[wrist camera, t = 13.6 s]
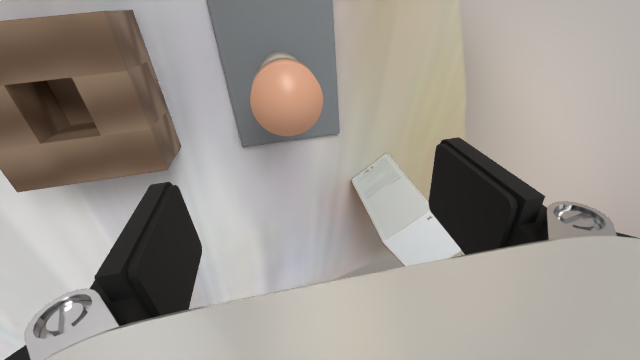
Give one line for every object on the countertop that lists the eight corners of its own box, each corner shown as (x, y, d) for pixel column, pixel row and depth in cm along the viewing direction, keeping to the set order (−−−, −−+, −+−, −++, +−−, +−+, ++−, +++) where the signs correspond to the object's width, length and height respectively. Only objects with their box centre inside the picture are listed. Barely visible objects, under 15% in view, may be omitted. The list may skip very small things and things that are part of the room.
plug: (250, 48, 31) (243, 67, 21) (304, 43, 31) (320, 60, 22) (259, 102, 33) (257, 140, 24) (308, 96, 34) (325, 131, 25)
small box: (349, 179, 41) (381, 243, 30) (386, 151, 40) (434, 207, 29) (379, 213, 45) (416, 280, 34) (414, 188, 44) (464, 249, 33)
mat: (205, -10, 28) (204, -10, 28) (330, -22, 29) (331, -22, 29) (242, 145, 36) (242, 147, 36) (338, 131, 37) (339, 133, 37)
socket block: (-32, 26, 27) (-102, 30, 21) (132, 10, 28) (103, 11, 23) (54, 164, 34) (17, 192, 29) (181, 146, 35) (167, 169, 30)
